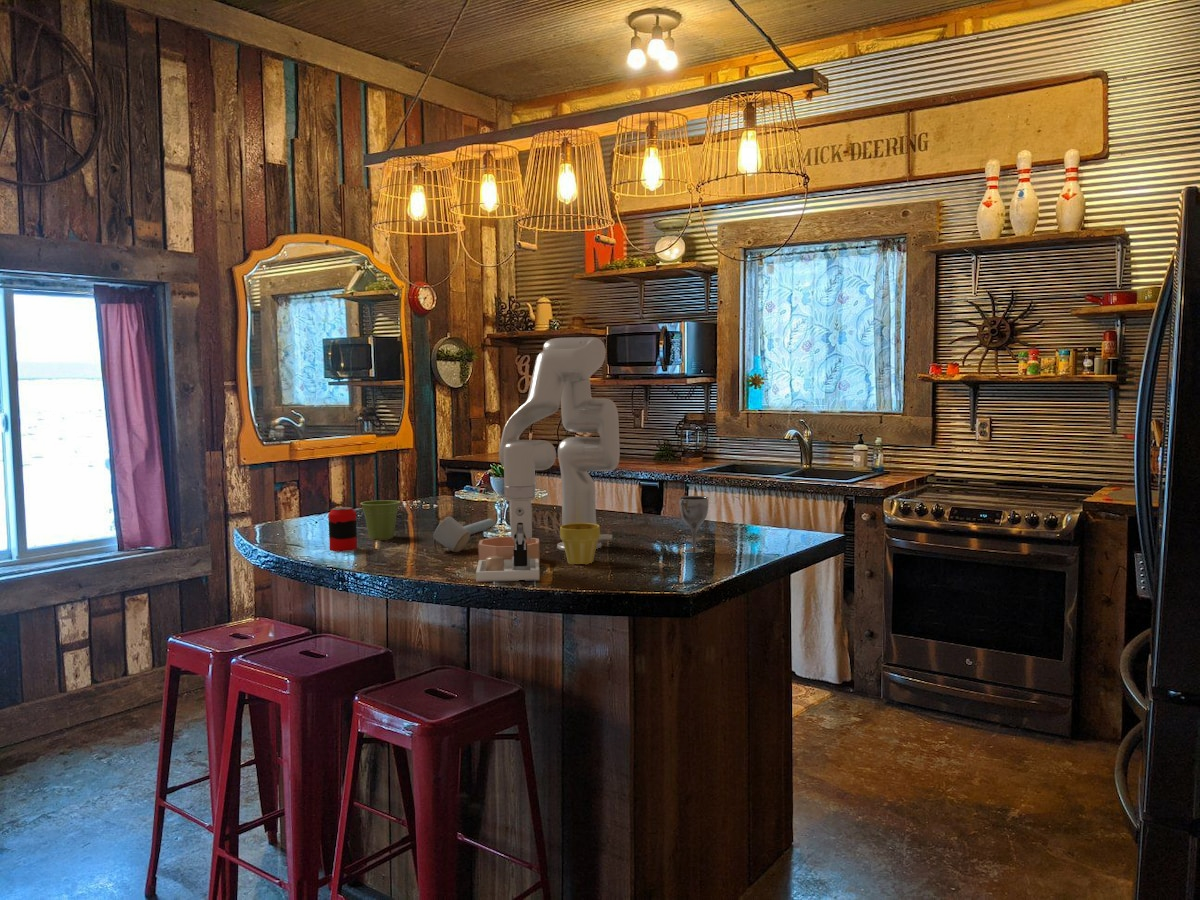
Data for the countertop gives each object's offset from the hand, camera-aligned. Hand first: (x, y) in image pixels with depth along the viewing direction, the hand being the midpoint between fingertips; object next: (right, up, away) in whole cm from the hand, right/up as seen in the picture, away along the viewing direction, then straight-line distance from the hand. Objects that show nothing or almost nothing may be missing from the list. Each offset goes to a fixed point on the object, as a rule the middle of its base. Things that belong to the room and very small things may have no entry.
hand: (520, 562), depth 231 cm
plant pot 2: (+14, -2, +15) cm, 21 cm away
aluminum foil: (-22, +1, +66) cm, 69 cm away
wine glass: (+45, -1, +28) cm, 53 cm away
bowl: (-4, -2, +17) cm, 17 cm away
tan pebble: (-6, -3, 0) cm, 7 cm away
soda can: (-54, -1, +37) cm, 65 cm away
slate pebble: (0, -3, 0) cm, 3 cm away
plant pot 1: (-47, 0, +56) cm, 73 cm away
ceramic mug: (-21, -1, +34) cm, 40 cm away
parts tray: (-3, -3, 0) cm, 4 cm away
